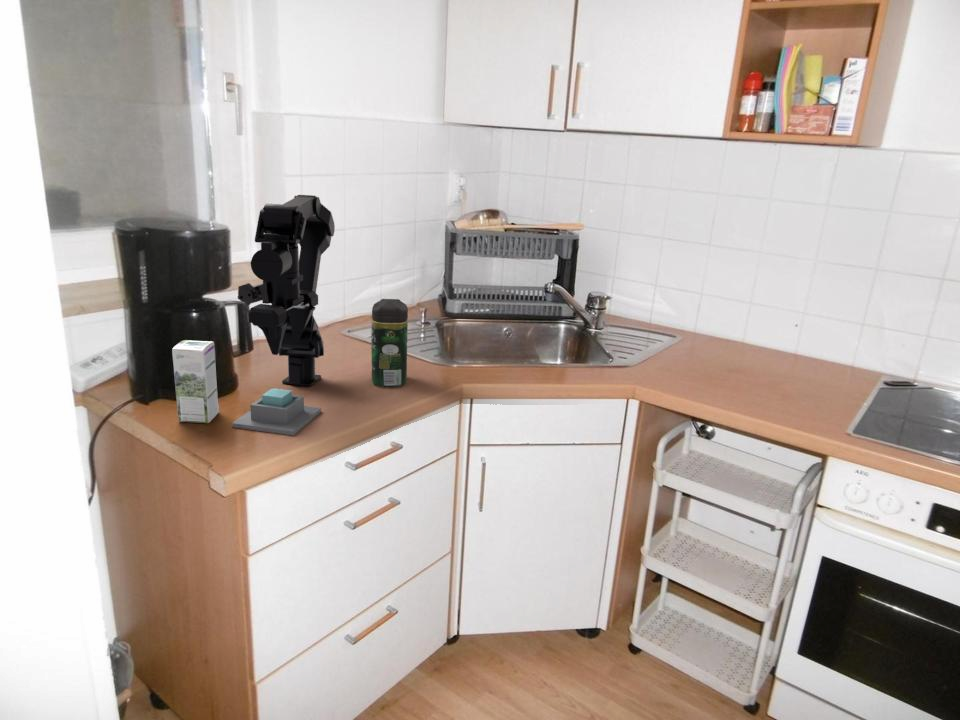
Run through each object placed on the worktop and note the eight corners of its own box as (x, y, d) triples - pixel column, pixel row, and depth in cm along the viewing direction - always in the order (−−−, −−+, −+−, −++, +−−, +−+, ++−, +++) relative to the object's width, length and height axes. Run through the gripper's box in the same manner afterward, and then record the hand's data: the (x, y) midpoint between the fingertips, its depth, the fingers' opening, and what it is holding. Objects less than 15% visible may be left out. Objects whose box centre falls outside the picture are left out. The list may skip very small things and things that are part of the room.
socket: (264, 404, 135) (263, 386, 134) (321, 411, 133) (320, 393, 132) (232, 427, 124) (231, 407, 123) (293, 435, 122) (293, 416, 121)
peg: (292, 412, 130) (291, 390, 128) (282, 420, 126) (282, 397, 125) (273, 409, 130) (272, 388, 129) (263, 417, 127) (262, 395, 125)
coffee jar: (372, 374, 156) (372, 295, 150) (406, 375, 157) (408, 296, 151) (369, 389, 147) (370, 305, 141) (406, 389, 147) (408, 307, 142)
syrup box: (219, 412, 130) (215, 340, 125) (208, 424, 124) (203, 349, 120) (189, 410, 130) (184, 338, 125) (177, 423, 124) (170, 347, 120)
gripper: (268, 259, 140) (271, 331, 145) (218, 275, 123) (223, 357, 127) (318, 264, 138) (319, 337, 143) (275, 281, 121) (278, 363, 126)
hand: (286, 348), depth 135 cm, fingers open, 9 cm apart
